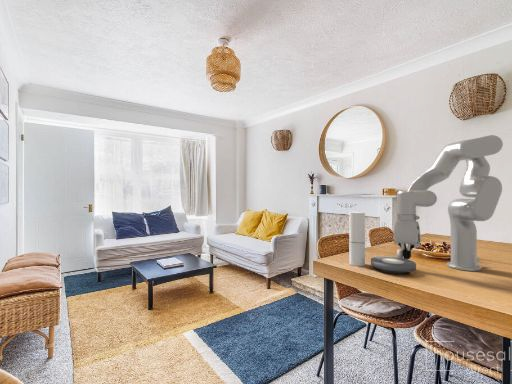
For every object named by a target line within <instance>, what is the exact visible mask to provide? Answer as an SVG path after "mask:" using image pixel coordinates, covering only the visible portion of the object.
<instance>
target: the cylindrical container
mask: <svg viewBox="0 0 512 384" xmlns="http://www.w3.org/2000/svg"><path fill="white" fill-rule="evenodd" d="M348 217H349V218H348V219H349V220H348V223H349V224H348V231H349V233H348V234H349V235H348V237H349V239H348V245H349V247H348V248H349V252H348V253H349V256H348V257H349V258H348V259H349V261H348V263H349V265H350V264H351V266H353V267H356V266H357V267H364V266H366V212H365V211H364V212H363V211H349V212H348Z"/></svg>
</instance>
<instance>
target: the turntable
mask: <svg viewBox="0 0 512 384" xmlns="http://www.w3.org/2000/svg"><path fill="white" fill-rule="evenodd" d="M370 265H371V266H372V267H374V268H377V269H378V268H380V269H384V270H389V271H399V272H408V273H409V272H414V271H415V270H417V263H416V262H415V261H413V260H410V259H404V257H403V250H402V249H396V257H395V256H374V257H372V258H370Z"/></svg>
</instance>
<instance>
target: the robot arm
mask: <svg viewBox="0 0 512 384" xmlns="http://www.w3.org/2000/svg"><path fill="white" fill-rule="evenodd" d="M503 145H504V143H503V140H502V139H501V137H499V136H498V135H494V134H491V135H486V136H485V135H484V136H481V137H476V138H471V139H465V140H460V141H454V142H451V143H448V144H447V145H445V146H443V148H442V149H441V151H440V152H439V154H438V155H437V157H436V158H435V159H434V161H433V162H432V164H431V166H430V167H429V168H428V169H427V170H426V171H424V172H423V173H422V174H421V175H420V176H418V177H417V178H416V179H415V180H414V181H413V182H412V183H411V185H410V186H409V188H408V189H407V190H399V191H397V193H396V220H395V222H394V226H393V227H394V229H393V241H394V242H393V244H394V245H396V246H398V247H400V248H401V249H400V250H403V259H407V260H410V259H411V257H412V250H413V249H414V248H420V247H421V242H422V237H421V229H420V223H419V221H418V220H420V216H419V215H417V207H420V208H421V207H423V208H428V207H432V206H433V205H435V204H436V203H437V201H438V197H437V194H436V193H435V192H433V191H432V190H429V189H430V188H431V187H432V186H435V185H437V184H439V183H442V182H443V181H445V180H447V179H448V178H450V176H451V175H452V173H453V172H454V170H455V169H456V167H457V166H458V164H459V163H460V162H461V161H465V163H466V169H465V172H464V175H463V178H462V180H461V183H460V185H459V193H460V194H461V195H462V196H463V197H466V198H457V199H454V200H452V201H450V202H449V204H448V206H447V212H448V213H447V214H448V217H449V222H450V223H449V224H450V261H447V262H446V266H447V267H449V268H451V269H456V270H460V271H468V272H469V271H470V272H479V271H482V267H481V266H480V265H479V264H478V263H479V262H481V259H480V258H479V257H478V253H477V252H478V251H477V250H478V249H477V247H478V245H477V244H478V243H477V242H478V239H477V237H478V236H477V235H478V231H477V230H478V229H477V226H476V223H475V222H485V221H488V220H490V219H491V218H492V217H493V216H494V213H495V211H496V208H497V205H498V204H499V201H500V198H501V195H502V192H503V185H502V184H503V183H502V182H501V180H500V179H499V178H498V177H495V176H492V175H489V174H490V172H491V165H490V163H489V161H488V160H487V159H486V157H488V156H491V155H496V154H498V153H499V152H500V151H502V148H503ZM474 221H475V222H474Z"/></svg>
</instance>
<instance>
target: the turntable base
mask: <svg viewBox="0 0 512 384" xmlns="http://www.w3.org/2000/svg"><path fill="white" fill-rule="evenodd" d="M377 269H378V271H381V272H384V273H387V274H394V275H404V274H408V273H409V271H408V272H399V271H389V270H384V269H380V268H377Z"/></svg>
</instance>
